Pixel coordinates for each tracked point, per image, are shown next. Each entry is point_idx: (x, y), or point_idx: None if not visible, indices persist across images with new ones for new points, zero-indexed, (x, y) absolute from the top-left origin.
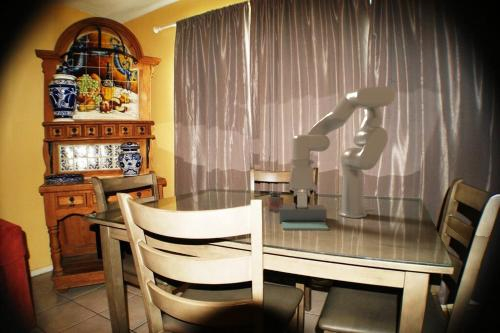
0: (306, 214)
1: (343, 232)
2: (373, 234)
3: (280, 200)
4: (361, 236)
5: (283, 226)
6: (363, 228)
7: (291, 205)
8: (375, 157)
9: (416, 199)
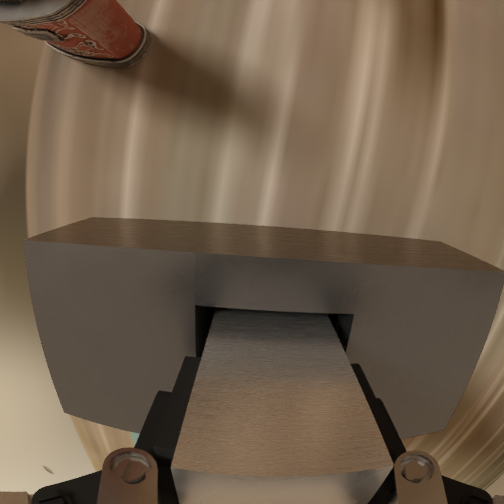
0: None
1: None
2: (468, 453)
3: (64, 23)
4: None
5: (136, 438)
6: (490, 410)
7: (150, 293)
8: None
9: None
